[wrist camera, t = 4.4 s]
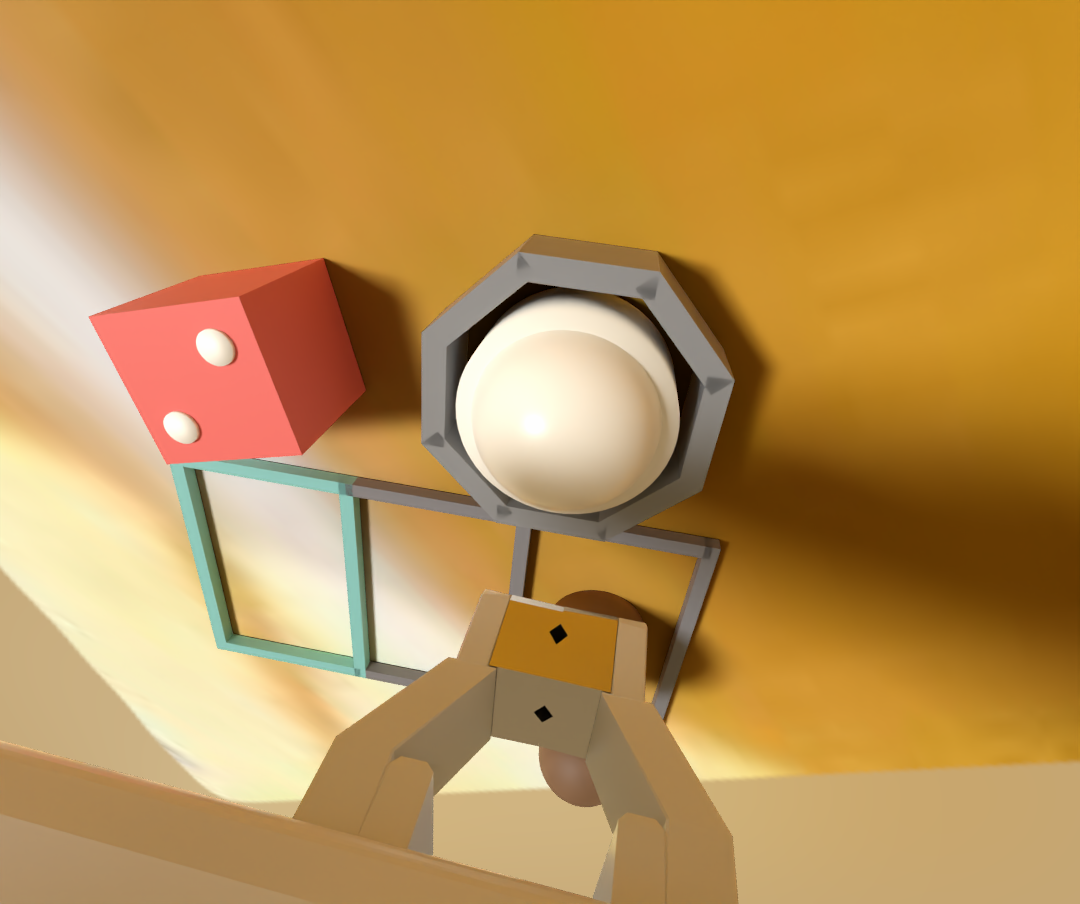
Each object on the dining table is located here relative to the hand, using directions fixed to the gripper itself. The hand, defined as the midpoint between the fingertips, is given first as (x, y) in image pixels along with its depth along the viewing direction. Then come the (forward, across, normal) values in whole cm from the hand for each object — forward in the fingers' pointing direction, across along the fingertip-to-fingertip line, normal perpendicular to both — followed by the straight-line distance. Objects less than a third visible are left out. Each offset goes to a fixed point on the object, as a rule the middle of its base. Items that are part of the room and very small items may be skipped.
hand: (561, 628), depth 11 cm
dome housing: (+12, +1, 0) cm, 12 cm away
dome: (+12, +1, 0) cm, 12 cm away
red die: (+11, +12, 0) cm, 17 cm away
